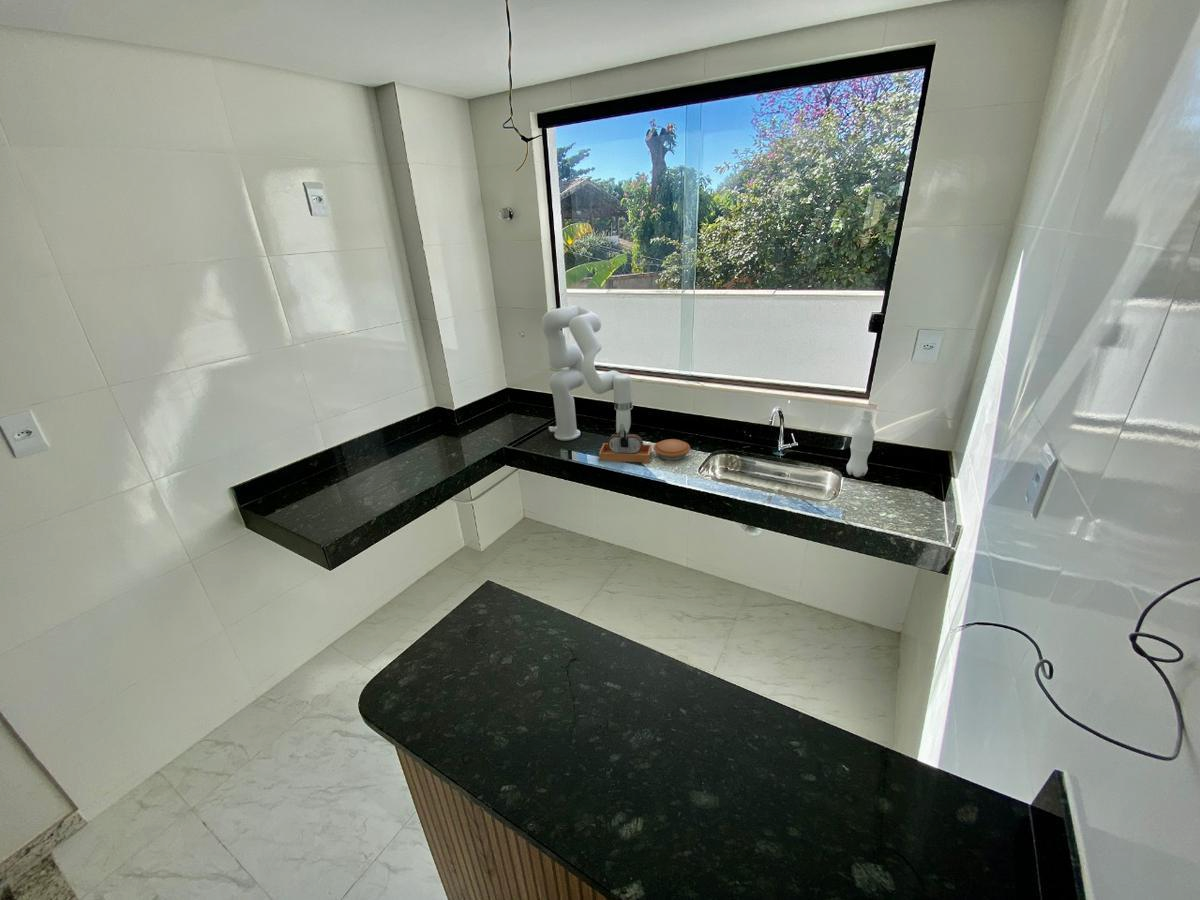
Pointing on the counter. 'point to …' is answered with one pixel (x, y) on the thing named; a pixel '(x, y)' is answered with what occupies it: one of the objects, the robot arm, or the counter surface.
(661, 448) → the pie
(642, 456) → the brown wooden tray
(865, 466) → the water bottle
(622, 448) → the tin
